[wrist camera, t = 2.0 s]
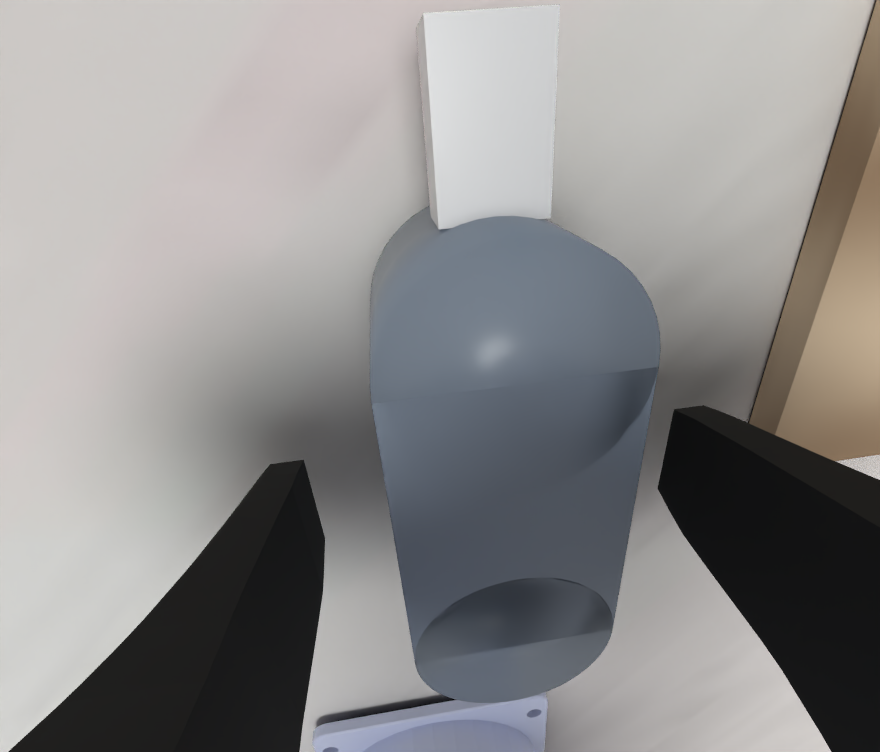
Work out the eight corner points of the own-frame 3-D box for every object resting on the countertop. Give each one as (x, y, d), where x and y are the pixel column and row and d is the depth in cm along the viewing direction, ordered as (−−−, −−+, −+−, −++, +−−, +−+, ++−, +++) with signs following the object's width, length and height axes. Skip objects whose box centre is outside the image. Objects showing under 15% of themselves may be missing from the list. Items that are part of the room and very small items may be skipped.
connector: (550, 556, 13) (602, 684, 10) (411, 578, 13) (424, 716, 10) (582, 31, 7) (728, -34, 4) (331, 48, 7) (301, -9, 4)
